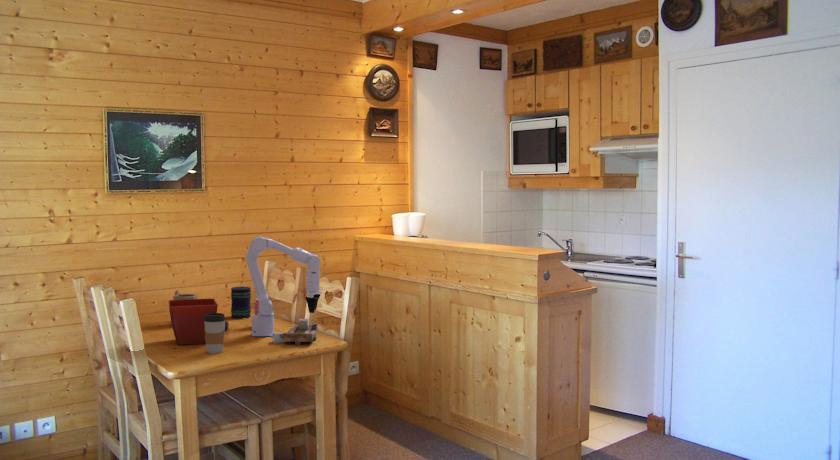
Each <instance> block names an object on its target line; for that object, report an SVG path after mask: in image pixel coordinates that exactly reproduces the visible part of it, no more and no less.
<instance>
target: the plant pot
mask: <svg viewBox="0 0 840 460" xmlns="http://www.w3.org/2000/svg"><path fill="white" fill-rule="evenodd" d="M167 302H168V308H169V309H168V310H169V315H170V321H171V323H172V325H171V328H172V332H173V335H174V338H175V342H176V344H177V346H179V345H180V346H181V345H197V344H198V345H199V344H206V341H205V323H204V317H205V315H206V314H209V313H218V302H217V301H216V299H215V298H197V299H186V300H173V299H172V300H171V299H170V300H167Z"/></svg>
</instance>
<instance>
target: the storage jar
mask: <svg viewBox="0 0 840 460" xmlns="http://www.w3.org/2000/svg"><path fill="white" fill-rule="evenodd" d="M251 290H252V287H250V286H235V287H234V286H233V287H230V291H231V293H230V296H231V297H230V299H231V307H230V313H231V314H230V315H231V316H230V318H231V319H233V318H235V320H244V319H243V318H247V319H250V318H251V314H252V313H251V312H252V306H251V300H252V291H251ZM249 317H250V318H249Z"/></svg>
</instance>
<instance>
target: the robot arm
mask: <svg viewBox="0 0 840 460" xmlns="http://www.w3.org/2000/svg"><path fill="white" fill-rule="evenodd" d="M249 243H250V244H249V246H248V248H247V252H246V254H245V261H246V264H247V267H248V271H249V274H250V277H251V280H252V285H253V287H254V290H255V294H256V299H258V302H259V305H258V307H259V313H258V314H257V315H255V314H254V315H252V318H251V337H273V333H274V332H275V330H274V329H275V324H274V323H275V318H274V317H275V316H274V315H275V313H274V312H273V311H274V306H273V302H272V301H271V299H270V298H269V296H268V292H267V289H266V286H265V282H264V279H263V276H262V273H261V268H260V266H259V263H258V258H259V256H260V255H261V253H262V252H264V251H265V250H266V249H267V250H268V251H269V250H276V251H279V252H281V253H284V254H286V255H288V256H290V258H291V260H293V261H295V262H298V263H301V264H302V265H307V271H306V292H305V293H306V294H307V296H305V297H304V299H305V301H306V303H307V304H306V305H307V309H308V313H309V314H314V313H315V311H316V310H317V307H318V303H319V300H320V296H321V294H322V293H323V290H320V281H321V279H320V278H321V276H320V275H321V272H320V268H321V267H320V266H321V264H322V263H321V259H320V258H319V256H318V255H316V254H315V253H313V252H309V251H307V250H305V249H303V248H302V247H295V248H293V247H289V246H288V245H286V244H283V243H281V242H280V241H279V242H278V240H274V239H271V238H268V237H264V236H261V235H257V236H255V237H254V238H253V239H252V240H251V242H249Z"/></svg>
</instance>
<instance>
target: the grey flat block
mask: <svg viewBox="0 0 840 460" xmlns="http://www.w3.org/2000/svg"><path fill="white" fill-rule="evenodd" d="M318 331H319V330H318V323H317V322H313V323H312V324H310V325H309V327H308V329H307V330H300V329H298V324H295V325H294V326H293V327H290V328H289V330H288V331H287V332H282V333H283V341H284V343H285V342H290V343H291V342H292V343H293V342H295V343H294V345H295V346H300V345H302V343H301V342H303V343H306V342H307V343H308V342H310V343H311V342H313V341H316V340H317V333H318Z"/></svg>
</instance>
